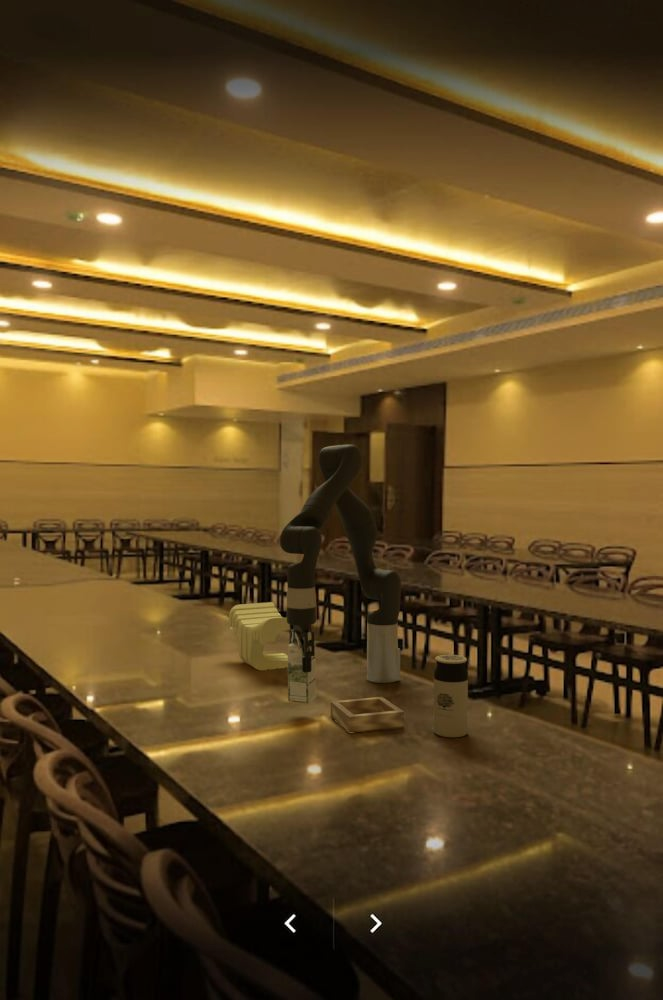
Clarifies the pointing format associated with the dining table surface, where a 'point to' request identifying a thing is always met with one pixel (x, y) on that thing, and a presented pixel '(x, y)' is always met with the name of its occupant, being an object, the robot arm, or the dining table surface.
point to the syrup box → (300, 677)
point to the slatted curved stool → (258, 633)
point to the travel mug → (450, 696)
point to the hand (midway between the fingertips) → (301, 668)
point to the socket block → (367, 714)
